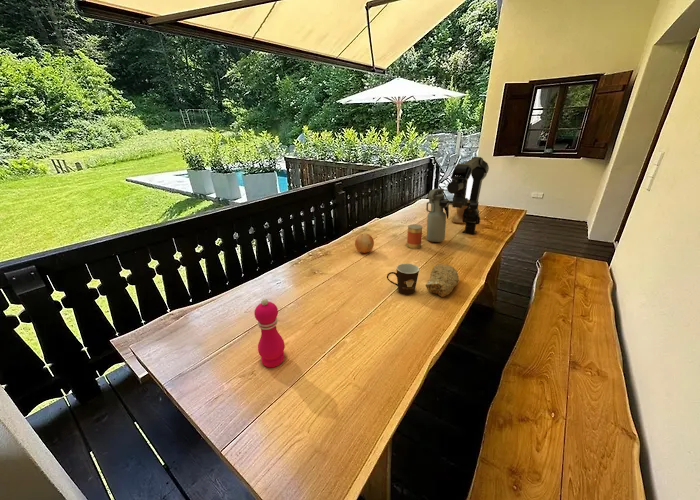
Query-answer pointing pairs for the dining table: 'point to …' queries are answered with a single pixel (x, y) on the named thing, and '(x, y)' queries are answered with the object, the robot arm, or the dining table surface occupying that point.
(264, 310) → the pepper mill
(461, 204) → the robot arm
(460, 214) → the stone cup
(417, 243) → the tin can
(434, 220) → the water bottle
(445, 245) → the dining table surface
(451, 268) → the rock
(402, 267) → the coffee mug
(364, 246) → the onion
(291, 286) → the dining table surface
